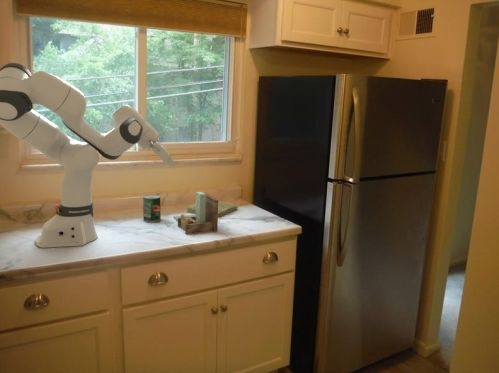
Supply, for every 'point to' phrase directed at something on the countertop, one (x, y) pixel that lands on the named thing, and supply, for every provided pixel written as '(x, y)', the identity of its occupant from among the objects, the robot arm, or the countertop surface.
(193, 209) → the decorative tile
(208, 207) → the walnut rack
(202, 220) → the pale green block
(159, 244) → the countertop surface
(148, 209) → the canned tomato
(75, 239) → the robot arm
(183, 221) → the offcut stack
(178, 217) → the grey mat
